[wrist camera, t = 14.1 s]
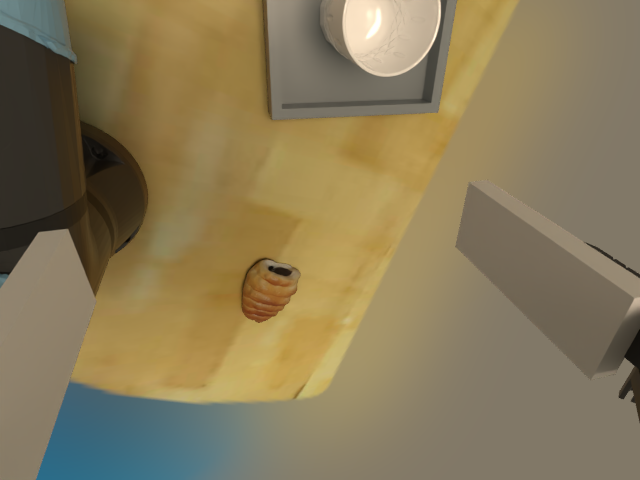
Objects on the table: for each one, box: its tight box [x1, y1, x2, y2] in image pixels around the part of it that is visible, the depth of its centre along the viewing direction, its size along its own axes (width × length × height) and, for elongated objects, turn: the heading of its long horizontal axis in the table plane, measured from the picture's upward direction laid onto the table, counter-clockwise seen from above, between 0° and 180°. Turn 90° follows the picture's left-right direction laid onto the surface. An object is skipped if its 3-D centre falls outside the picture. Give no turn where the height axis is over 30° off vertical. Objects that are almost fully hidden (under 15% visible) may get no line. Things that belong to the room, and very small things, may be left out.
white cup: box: [320, 0, 441, 77], centre depth 34 cm, size 8×8×10 cm
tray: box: [263, 0, 457, 120], centre depth 38 cm, size 18×18×3 cm
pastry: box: [242, 259, 300, 323], centre depth 52 cm, size 9×7×4 cm
